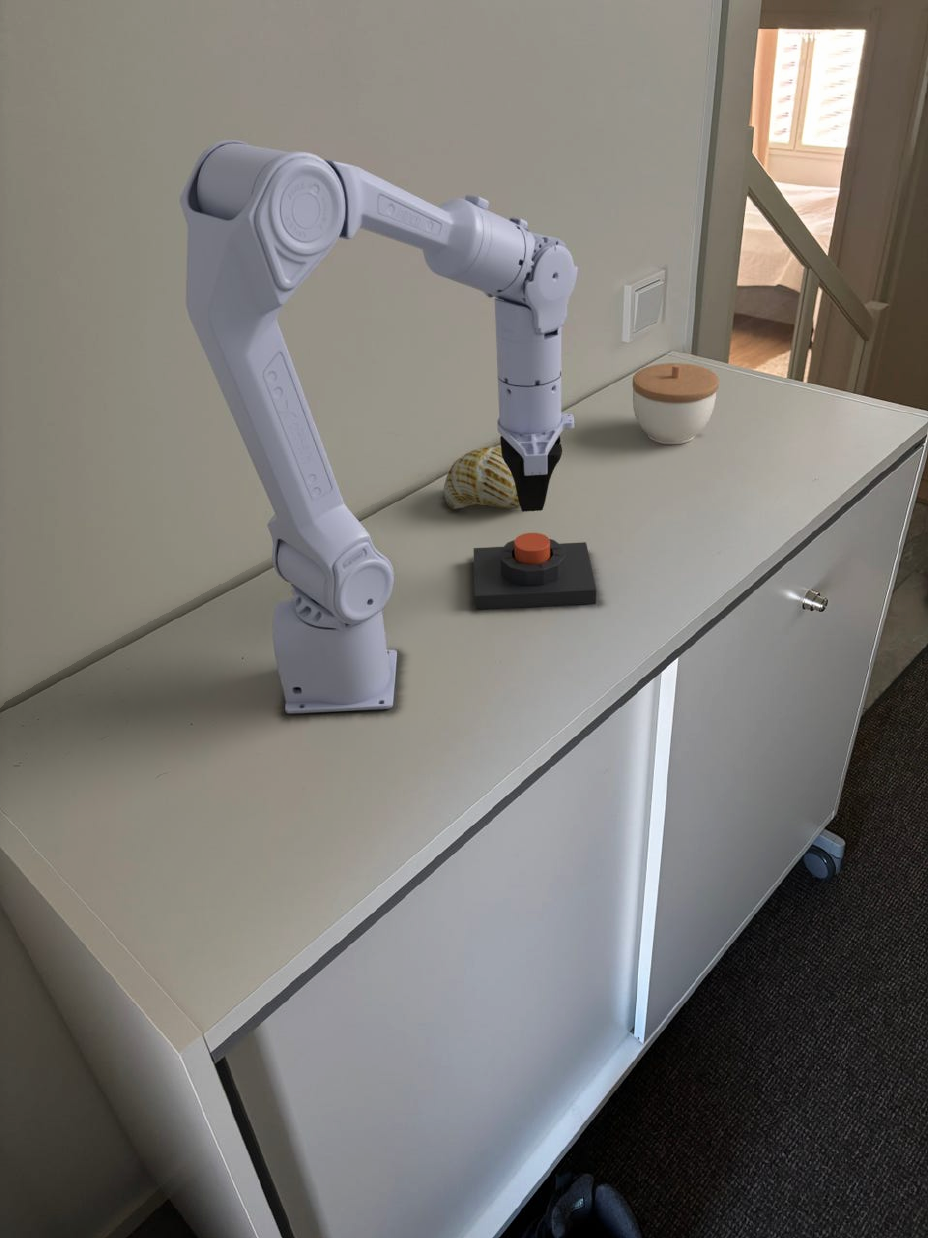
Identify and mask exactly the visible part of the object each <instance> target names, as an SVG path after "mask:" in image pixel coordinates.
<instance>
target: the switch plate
mask: <svg viewBox="0 0 928 1238" xmlns="http://www.w3.org/2000/svg"><path fill="white" fill-rule="evenodd" d="M549 540H550V558H549V559H548V561H546V562H543V563H541V564H531V565H528V564H524V563H520V562H518V561H517V560H516V559H515V552H514V541H515V539H513V540H510V541H508V542H507V543H506V544H505V545H504V546H490V547H487V546H486V547H473V576H474V577H473V579H474V581H473V582H474V602H475V605H474V606H475V610H478V611H479V610H496V609H513V608H534V607H536V608H537V607H554V606H573V605H592V604H594V605H595V604H597V586H596V582H595V577H594V572H593V569H592V564H591V559H590V555H589V550H588V546H587V545H588V544H587V542H583V541H582V542H581V541H580V542H565V543H564V542H563V543H559V542H558V541H556V540H555V539H551V538H549Z"/></svg>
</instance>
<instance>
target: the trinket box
mask: <svg viewBox="0 0 928 1238" xmlns="http://www.w3.org/2000/svg"><path fill="white" fill-rule="evenodd" d="M719 385H720V379H719V377H718V375H717V374H716V373H715V372H714V371H713V370H710V369H709V368H706V367H703V366H701V365H696V364H689V363H683V362H681V363H680V362H677V363H675V362H668V363H660V364H653V365H650V366H646V367H644V368H642V369H640V370H638V371H636V372H635V374H634V375H633V377H632V403H633V404H632V405H633V412H634V417H635V419H636V421H637V423H638V425H639V427H640V428H641V429H642V430H643V431H644V432H645V434H647V437H648V438H649V439H650V440H652V441H653V442H656V443H659V444H664V445H681V444H685V443H689V442H690V441H692V440H694V438H695V436H697V435H698V434H699V433H700V432H701V431H703V430H704V428H705V427H706V426H707V425H708V423H709V421H710V419H711V418H712V415H713V412H714V410H715V405H716V400H717V392H718V389H719Z"/></svg>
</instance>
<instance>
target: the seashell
mask: <svg viewBox="0 0 928 1238" xmlns="http://www.w3.org/2000/svg"><path fill="white" fill-rule="evenodd" d="M444 481H445V482H444V484H443V494H444V497H445V498H444V499H445V501H446V504H447V506H448V507H449V508H451V509H453V510H457V509H462V508H465V507H468V506H473V505H476V504H478V505H483V506H484V505H485V506H490V507H497V508H505V509H506V508H510V509H511V508H519V507H520V504H519V500H518V496H517V491H516V486H515V482H514V479H513V476H512V474H511V471H510V469H509V468H508V466H507V465H506V463H505V462H504V459H503V457H502V453H501V444H499V445H494V446H486V447H481V448H476V449H473V450H470V451H469V452H467V453H465V454H464V455H462V456H461V457H459V458H458V459H457V460H455V461H454V462H453V463H452V466H451V467H450V469H449V470H448V473H447V475H446V478H445V480H444Z"/></svg>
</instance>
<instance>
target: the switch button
mask: <svg viewBox="0 0 928 1238" xmlns="http://www.w3.org/2000/svg"><path fill="white" fill-rule="evenodd" d="M549 539H550V538H549V537H548V536H547V535H545V534H543V533H539V532H525V533H522V534H520V535H518V536H517V537H516V538H515V539H514V540H515V541H514V552H515V559H516V560H517V561H518V562H520V563H524V564H528V565H531V564H541V563H543V562H546V561H548V559H549V558H550V540H549Z"/></svg>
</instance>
